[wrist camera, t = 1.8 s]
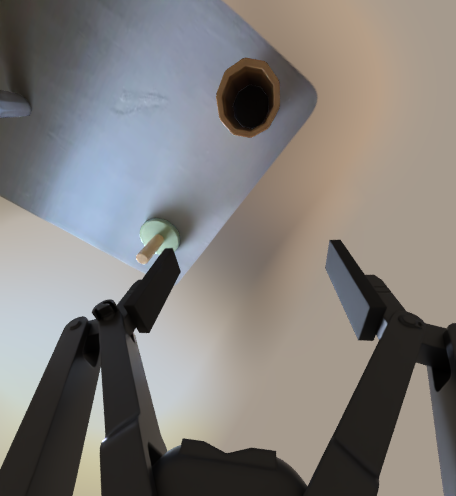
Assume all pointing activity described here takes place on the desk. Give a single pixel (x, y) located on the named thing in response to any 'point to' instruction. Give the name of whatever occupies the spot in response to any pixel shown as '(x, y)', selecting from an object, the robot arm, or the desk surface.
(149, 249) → the holder
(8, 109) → the milkshake
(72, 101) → the desk surface
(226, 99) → the tube
